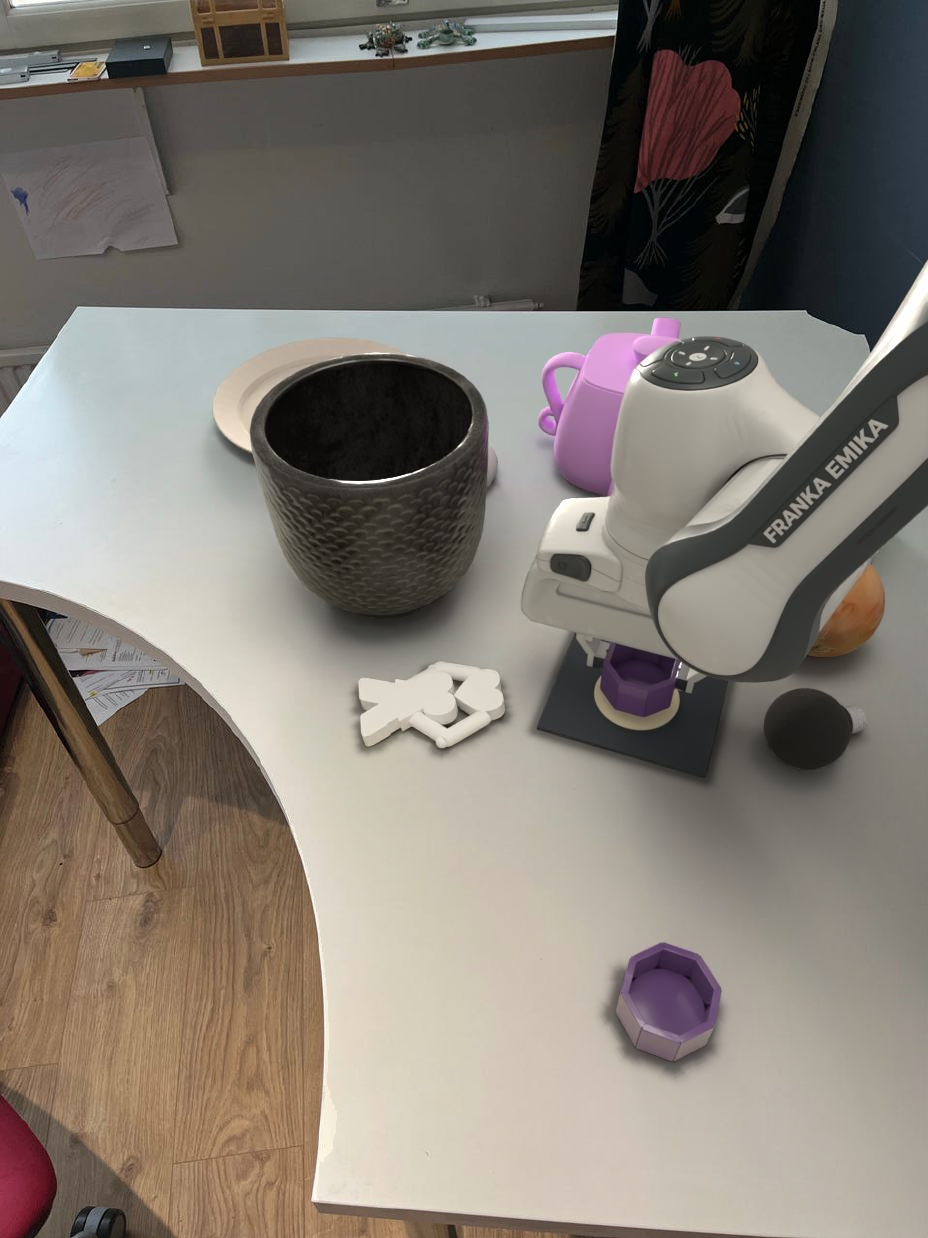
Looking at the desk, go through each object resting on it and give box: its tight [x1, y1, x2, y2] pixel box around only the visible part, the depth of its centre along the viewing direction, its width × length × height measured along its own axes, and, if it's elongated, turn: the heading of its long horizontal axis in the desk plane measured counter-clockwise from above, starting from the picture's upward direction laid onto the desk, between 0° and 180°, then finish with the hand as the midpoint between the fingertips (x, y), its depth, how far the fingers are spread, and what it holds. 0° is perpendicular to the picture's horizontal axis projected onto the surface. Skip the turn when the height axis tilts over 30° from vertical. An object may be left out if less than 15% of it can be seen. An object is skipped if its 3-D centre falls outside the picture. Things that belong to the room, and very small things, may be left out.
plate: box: [212, 336, 408, 454], centre depth 109 cm, size 26×26×2 cm
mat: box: [536, 633, 729, 778], centre depth 83 cm, size 14×24×1 cm, turn 159°
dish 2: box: [615, 941, 723, 1062], centre depth 60 cm, size 6×6×3 cm
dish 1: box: [600, 642, 681, 717], centre depth 77 cm, size 6×6×3 cm
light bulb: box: [762, 687, 868, 771], centre depth 74 cm, size 6×6×10 cm
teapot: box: [537, 317, 682, 497], centre depth 97 cm, size 19×21×14 cm
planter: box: [250, 353, 490, 620], centre depth 83 cm, size 20×20×19 cm
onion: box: [807, 563, 886, 658], centre depth 80 cm, size 10×10×10 cm
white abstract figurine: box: [357, 660, 506, 749], centre depth 78 cm, size 9×12×2 cm
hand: (639, 673), depth 77 cm, fingers closed on dish 1, 6 cm apart
